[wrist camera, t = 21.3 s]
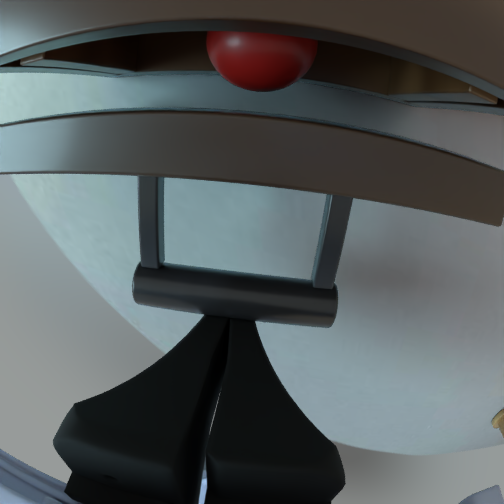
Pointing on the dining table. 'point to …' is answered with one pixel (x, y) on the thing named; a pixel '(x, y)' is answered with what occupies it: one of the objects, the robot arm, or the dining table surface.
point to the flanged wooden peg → (499, 421)
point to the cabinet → (279, 31)
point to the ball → (260, 58)
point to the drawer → (254, 164)
